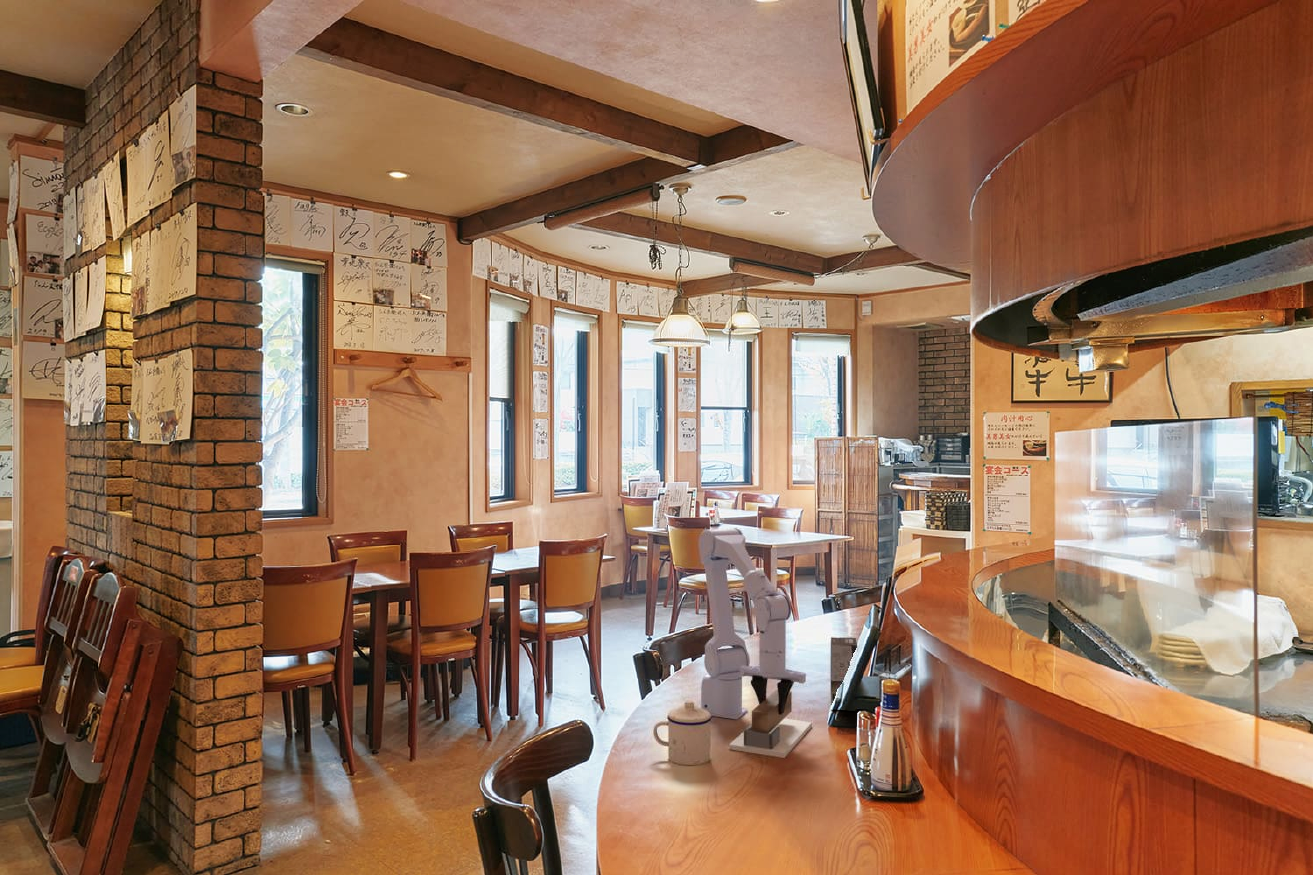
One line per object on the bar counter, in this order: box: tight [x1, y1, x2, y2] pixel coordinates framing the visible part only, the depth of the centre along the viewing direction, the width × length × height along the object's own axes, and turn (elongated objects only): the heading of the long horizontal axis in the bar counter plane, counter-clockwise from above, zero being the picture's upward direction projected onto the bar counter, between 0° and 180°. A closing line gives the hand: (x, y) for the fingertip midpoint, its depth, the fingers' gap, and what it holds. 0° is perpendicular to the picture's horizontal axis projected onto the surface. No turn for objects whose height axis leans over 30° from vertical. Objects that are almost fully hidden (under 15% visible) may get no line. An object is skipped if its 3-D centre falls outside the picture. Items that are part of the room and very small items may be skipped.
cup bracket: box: [728, 718, 813, 759], centre depth 194 cm, size 12×22×4 cm, turn 155°
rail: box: [751, 689, 793, 734], centre depth 194 cm, size 4×18×4 cm, turn 155°
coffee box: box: [829, 636, 858, 706], centre depth 218 cm, size 9×6×16 cm
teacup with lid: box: [652, 700, 713, 766], centre depth 181 cm, size 12×9×12 cm
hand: (772, 711), depth 194 cm, fingers closed on rail, 3 cm apart
